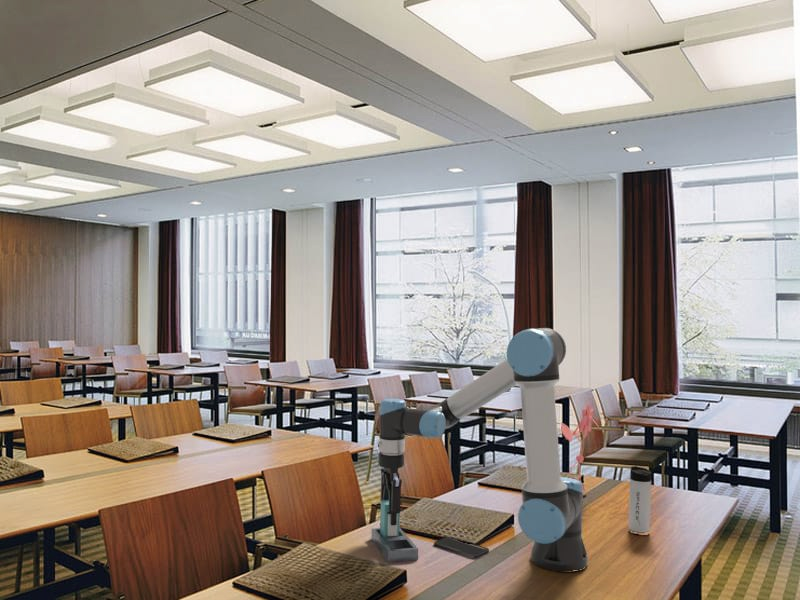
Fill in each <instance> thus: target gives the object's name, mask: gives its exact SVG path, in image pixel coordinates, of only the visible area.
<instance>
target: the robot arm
mask: <svg viewBox="0 0 800 600" xmlns="http://www.w3.org/2000/svg"><path fill="white" fill-rule="evenodd" d="M566 353H567V346H566V342H565V339H564V338H563V336H562V335H561V334H560V333H559V332H558V331H556V330H554V329H552V328H549V327H539V328H532V327H531V328H527V329H523V330H522V331H518V332H517V333H516V334H515V335H514V336H513V337H511V339H510V340H509V342H508V345H507V347H506V359H505V360H503V361H501V363H499V364H497V365H496V366H494V367H492V368H491V369H489V370H488V371H487V372H484V374H482V375H480V376H479V377H477V378H476V379H475V380H472V381H471V382H470V383H468V384H467V385H464V387H463V388H461V389H459V390H457V391H456V392H454V393H452V395H450V396H448V397H447V398H445V399H444V400H442V401H440V402H439V403H437V404H435V405H432V406H429V407H426V408H423V409H420V408H410V407H407V405H406V403H407V402H406V401H405V400H404V399H401V398H385V399H383V400H381V402H380V404H379V405H380V407H379V413H378V415H379V437H378V441H377V445H378V451H379V453H378V466H380V467H381V469H380V476H381V477H380V478H381V479H380V501H381V500H389V512H387V514H388V532H387V535H388V536H397V522H398V513H400V514H401V507H402V506H401V505H402V504H401V503H402V502H401V501H402V500H401V497H402V495H401V494H402V482H403V481H402V479H401V478H400V473H399V469H400V468H403V467H404V465H405V453H404V452H406V448H405V447H406V435H409V436H415V437H417V436H418V437H423V438H426V439H431V438H432V439H439V438H441V437H442V436H443V434H444V433H445V430H447V429H450V428H452V427H454V426H455V425H456V424H458V422H460V421H461V420H462V419H464V418H466V417H467V416H469V415H471V414H472V413H473V412H475V411H477V410H478V409H480V408H482V407H484V406H485V405H486V404H488V403H490V402H491V401H493V400H494V399H496V398H498V397H499V396H500V395H502V394H504V393H506V392H507V391H509V390H510V389H512V388H514V387H515V386H518V387H519V388H520V398H521V399H520V400H521V412H522V414H521V415H522V427H523V428H522V430H523V441H524V442H523V443H524V456H525V470H526V480H525V482H524V483H523V484H522V485H521V495H522V496H521V499H522V500H521V501H522V504H521V505H520V507H519V511H518V514H517V521H518V525H519V527H520V529H521V531H522V532H523V534H524V535H525V536H527V538H529V540H531V541H532V542H533V545H532V547H531V550H530V552H531V553H530V554H531V555H530V559H531V561H532V563H534V565H537V566H538V567H540V568H542V569H545V570H548V569H549V571H552V570H555V571H554V572H558V571H573V570H580V569H583V568H584V567H586V566H587V567H588V553H587V551H586V547H585V546H586V545H585V543H584V540H583V539H584V538H583V535H582V529H583V502H584V501H583V499H584V498H583V497H584V489H583V488H584V486H583V483H582V481H581V482H580V481H578V479H576V478H571V477H565V476H561V466H560V465H561V463H560V451H559V438H558V437H559V436H558V425H557V424H558V422H557V421H558V420H557V409H556V395H555V393H556V392H555V386H556V384H557V383H558V382H559V381H560V367H559V366H560V365H561V364H562V362H563V361H564V359H565V357H566ZM587 567H586V568H587ZM583 570H584V569H583ZM580 571H581V570H580Z"/></svg>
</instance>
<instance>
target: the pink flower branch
mask: <svg viewBox="0 0 800 600" xmlns="http://www.w3.org/2000/svg"><path fill="white" fill-rule="evenodd" d="M581 415H582V417H581V421H579V423H578V425H577V427H576V428H575V430H574V431H572V430H571V428H570V427H568V425H567V424H565V423H563V422H562V423H561V425H560V430H561V434H562V435H563V437H564V438H565V441H567V440H568V442H570V443H572V441H573V435H574V436H575V437H576V439H577V440H578V441H579V442H580V454H577V455H576V458H575V460H576V462H575V463H574V464H572V465H571V466H570V468H569V469H570V470H569V471H570V478H572V477H573V475H572V474H573V473H572V471H573V470H572V468H573V467H574V466H576V464H578V475H579V478H577V480H578V481H580V482H581V483H582V479H581V467H580V466H581V465H580V463H582V462H583V461H584V459H585V458H584V456H583V441H582V440H581V438H580V437H579V436H578V435H577V434H579V433H582V436H583V438H584V439H585V438H587V437H588V433H589V432H591V431H592V421H593V422H594V424H595V425H596V426H597V427H598V428H599V427H600V426H599V424H597V422H596V421H595V420H594V418H593V416H594V409H593V408H592V409H591V403H587V405H586V408H585V407H584V408H582V411H581ZM572 479H573V478H572ZM583 492H584V493H585V494H586V495H588V493H587V491H586V489H585V488H584V487H583ZM606 500H608V498H607V497H606ZM608 504H609V503H608V502H606V505H608ZM602 506H603V504H601V505H600V507H602Z"/></svg>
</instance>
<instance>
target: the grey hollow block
mask: <svg viewBox="0 0 800 600" xmlns="http://www.w3.org/2000/svg"><path fill="white" fill-rule="evenodd" d="M371 540H372V542H373V543H374V544H375V545H374V546H376V548H377V549H378V551H379V552H380V553H381V555H382V556H383V557H384V559H385V560H386V562H387V563H399V562H409V561H418V560H419V548H418V547H417V545H415V543H414V542H413V541H412V539H410V538H409V536H408V535H407V534H406V533H405V531H404V530H402V528H401V527H400V526H399V536H394V537H381V536H380V527H379V528H371Z"/></svg>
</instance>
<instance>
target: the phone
mask: <svg viewBox="0 0 800 600" xmlns="http://www.w3.org/2000/svg"><path fill="white" fill-rule="evenodd" d="M449 537H451V538H449ZM456 539H457V538H456V537H453V536H445V537H442V538H440V539H438V540H436V541H434V542H433V547H436V548H439V549H441V550H444V551H448V552H451V553H454V554H458V555H460V556H463V557H466V558H470V559H472V560H477V559H479V558H482V557H483V556H485V555H487V554H489V553H490V549H489V548H488V547H484V546H482V545H478V544H475V543H472V544H467V543H463V542H460V541H458V540H456Z"/></svg>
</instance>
